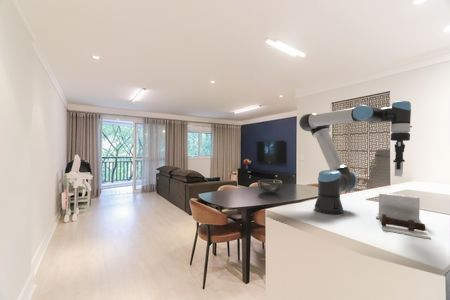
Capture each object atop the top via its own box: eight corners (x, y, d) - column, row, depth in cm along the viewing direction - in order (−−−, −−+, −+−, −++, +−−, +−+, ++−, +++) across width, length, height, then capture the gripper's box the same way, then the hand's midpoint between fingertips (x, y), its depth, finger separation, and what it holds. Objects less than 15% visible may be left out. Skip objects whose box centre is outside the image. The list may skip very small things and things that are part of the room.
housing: (376, 218, 114) (376, 193, 114) (377, 214, 122) (377, 191, 122) (422, 226, 103) (422, 199, 103) (420, 221, 111) (420, 196, 111)
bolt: (424, 236, 93) (381, 228, 101) (423, 228, 97) (381, 220, 105) (426, 227, 90) (382, 218, 99) (425, 218, 94) (382, 211, 102)
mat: (381, 229, 98) (381, 227, 98) (382, 224, 106) (382, 222, 106) (430, 239, 88) (430, 237, 88) (427, 232, 96) (427, 230, 96)
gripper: (410, 130, 97) (408, 178, 97) (410, 134, 116) (408, 174, 116) (388, 131, 102) (387, 176, 102) (392, 134, 121) (391, 172, 121)
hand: (398, 175), depth 109 cm, fingers open, 13 cm apart
